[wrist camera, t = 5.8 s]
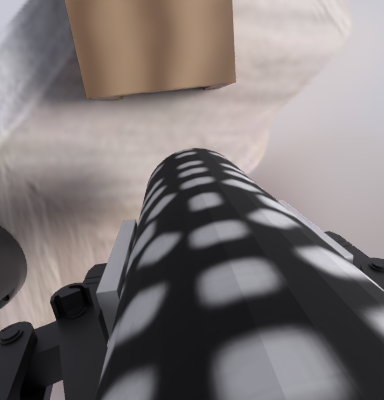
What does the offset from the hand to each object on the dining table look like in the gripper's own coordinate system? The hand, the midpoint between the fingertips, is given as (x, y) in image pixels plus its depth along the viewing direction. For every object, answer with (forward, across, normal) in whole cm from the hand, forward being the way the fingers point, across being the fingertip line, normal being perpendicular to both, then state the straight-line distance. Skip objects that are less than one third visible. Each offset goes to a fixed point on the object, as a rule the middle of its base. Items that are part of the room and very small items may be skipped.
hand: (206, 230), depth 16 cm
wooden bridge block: (+20, -2, +16) cm, 26 cm away
